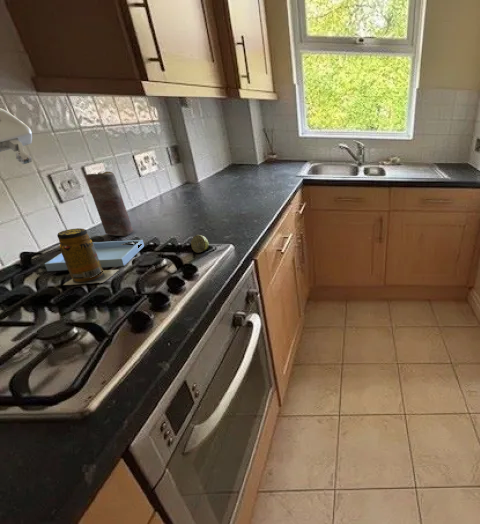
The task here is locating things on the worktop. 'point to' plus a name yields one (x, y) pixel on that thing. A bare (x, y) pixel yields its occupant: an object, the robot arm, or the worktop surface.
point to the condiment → (81, 257)
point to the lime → (199, 243)
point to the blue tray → (103, 255)
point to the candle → (109, 203)
